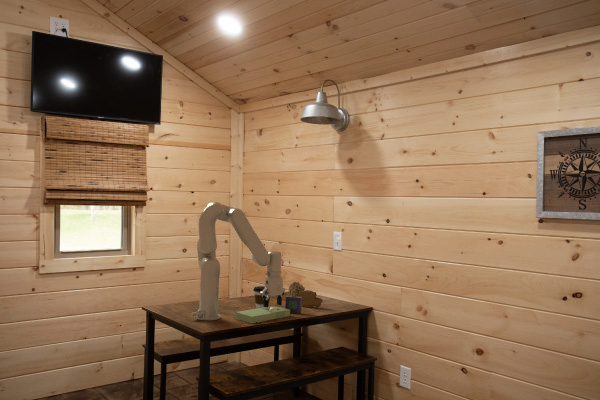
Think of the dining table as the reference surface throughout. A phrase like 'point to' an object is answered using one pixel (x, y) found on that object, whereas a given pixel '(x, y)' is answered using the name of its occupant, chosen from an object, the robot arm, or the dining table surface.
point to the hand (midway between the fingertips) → (272, 306)
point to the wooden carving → (310, 299)
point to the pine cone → (296, 288)
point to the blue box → (293, 304)
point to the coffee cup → (259, 296)
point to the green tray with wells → (261, 314)
